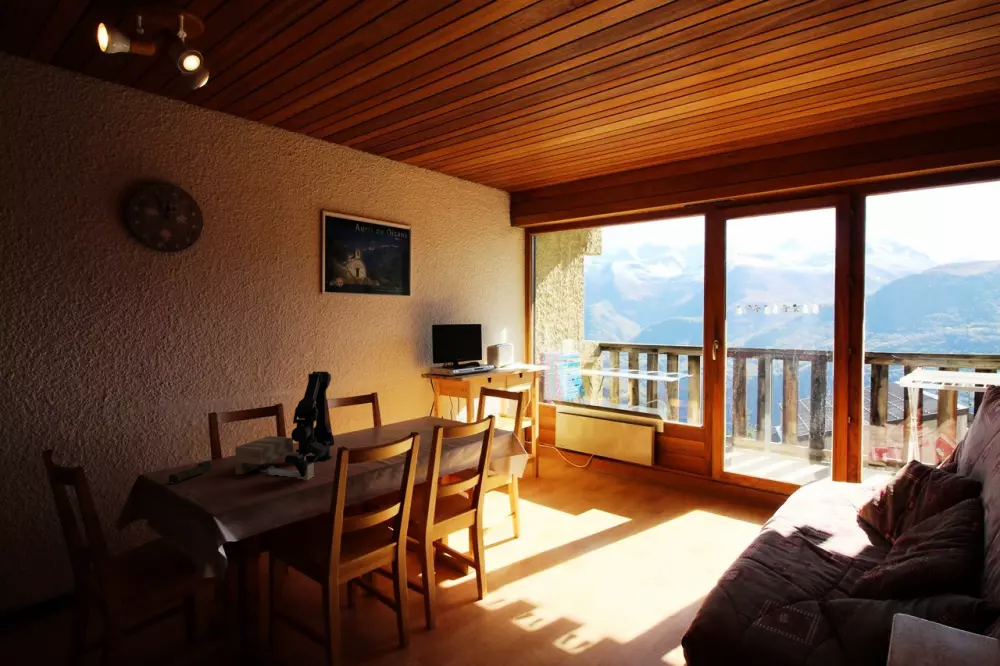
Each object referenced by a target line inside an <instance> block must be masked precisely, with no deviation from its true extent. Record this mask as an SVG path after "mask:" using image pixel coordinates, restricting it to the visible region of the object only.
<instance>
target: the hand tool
mask: <svg viewBox="0 0 1000 666" xmlns="http://www.w3.org/2000/svg"><path fill="white" fill-rule="evenodd" d="M210 470H211V471H212V470H213V465H212V462H211V461H210V460H205V461H202V462H199V463H198V464H197V466H194V467H190V468H188V469H185V470H182V471H179V472H176V473H174V474H169V476H168V482H169V483H170V482H173V483H177V482H180V483H181V482H182V481H185V480H187V479H190V478H193V477H196V476H197V475H205V474H207V473H209V472H210ZM206 472H207V473H206ZM204 473H205V474H204Z"/></svg>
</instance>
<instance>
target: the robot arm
mask: <svg viewBox="0 0 1000 666" xmlns="http://www.w3.org/2000/svg"><path fill="white" fill-rule="evenodd" d="M307 379H308V380H307V381H308V382H307V385H306V388H305V389H306V390H305V391H304V396H303V398H302V399H301V400H299V401H298V403H297V406H296V407H295V410H294V414H293V415H294V416H293V420H292V424H296V427H295V428H293V429H292V431H291V433H290V438H292V439H293V442H296V443H298V448H297V449H296V450H295V452H291V453H289V454H286V455H285V457H284V463H285V464H294V466H295V468H296V470H297V471H299V473H300V475H301V477H304V475H305V465H306V463H307V462H313V463H314V464H315V463H316V461H320V460H326V461H328V460H330V459H329V458H331V459H333V458H332V456H333V455H331V447H332V446H334V445H335V437H334V435H333V434H334V433H333V432H332V428H331V426H330V424H329V423H328V419H327V414H328V413H327V390H328V388H329V386H330V383H331V380H332V376H331V373H329V372H328V371H324V370H323V371H322V370H321V371H319V370H318V371H317V370H316V371H312V372H311V373H308V376H307ZM327 459H328V460H327Z"/></svg>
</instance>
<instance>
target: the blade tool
mask: <svg viewBox="0 0 1000 666" xmlns="http://www.w3.org/2000/svg"><path fill="white" fill-rule="evenodd" d="M314 466H315V463H313V462H307V463H306V465H305V475H304V477H301V475H300V473H299V471H298V470H297V469H296V470H295V469H288V468H287V469H285V468H278V467H274V468H269V472H268V476H274V475H279V476H278V477H282V476H288V477H287V478H291V477H297V478H296V479H298V480H299V479H305V480H304V481H307V480H308V481H310V480H311V479H310V478H312V477H314V478H315V471H314V469H315V467H314ZM309 479H310V480H309ZM312 479H313V478H312Z"/></svg>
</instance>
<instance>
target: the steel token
mask: <svg viewBox="0 0 1000 666" xmlns="http://www.w3.org/2000/svg"><path fill="white" fill-rule="evenodd" d="M269 468H275V466H274V465H270V464H268V465H265V466H261V467H259V468H258V469H257V471H259V472H258V473H261V472H266V473H269Z"/></svg>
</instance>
